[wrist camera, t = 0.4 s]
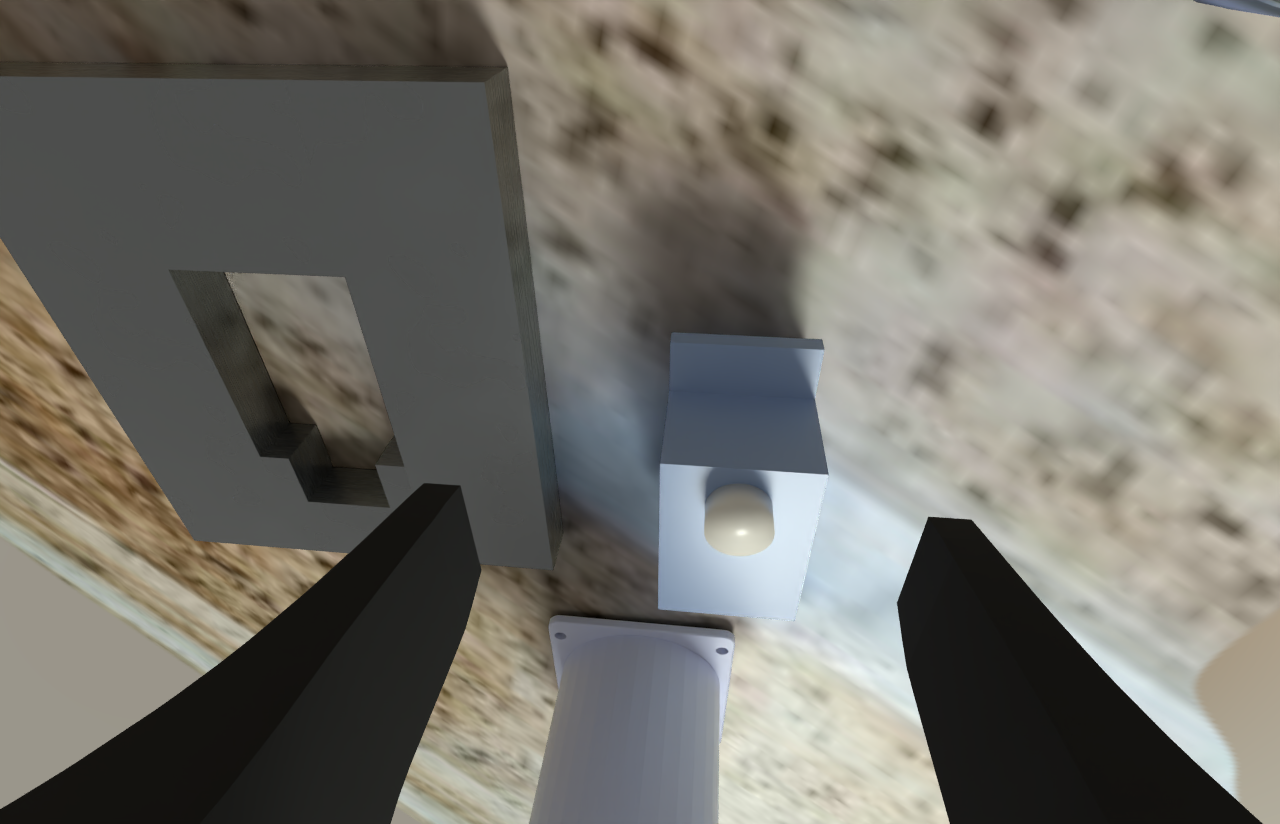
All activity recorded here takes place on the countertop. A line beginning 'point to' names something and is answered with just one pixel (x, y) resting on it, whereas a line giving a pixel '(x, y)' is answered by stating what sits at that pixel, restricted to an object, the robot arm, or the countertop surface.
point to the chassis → (293, 245)
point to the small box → (1248, 5)
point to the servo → (739, 474)
